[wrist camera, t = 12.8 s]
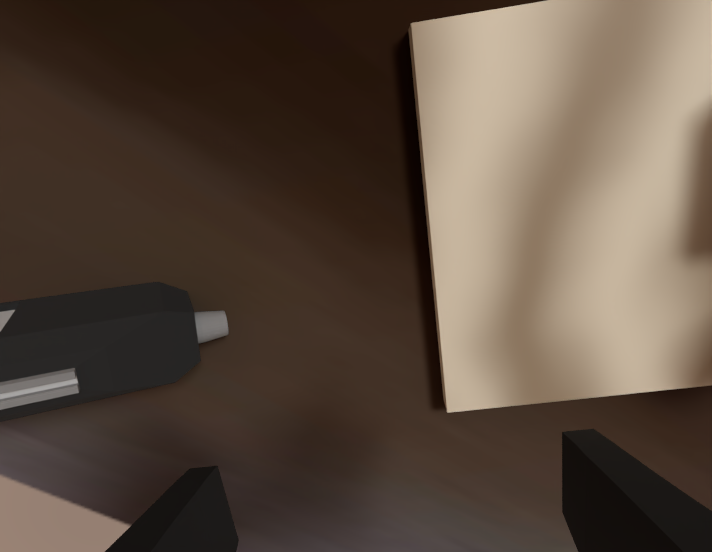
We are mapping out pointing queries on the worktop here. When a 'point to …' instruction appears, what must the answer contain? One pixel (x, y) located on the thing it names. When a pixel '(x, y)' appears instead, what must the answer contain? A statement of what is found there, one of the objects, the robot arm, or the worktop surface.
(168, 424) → the worktop surface
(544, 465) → the worktop surface
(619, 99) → the board
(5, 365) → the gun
